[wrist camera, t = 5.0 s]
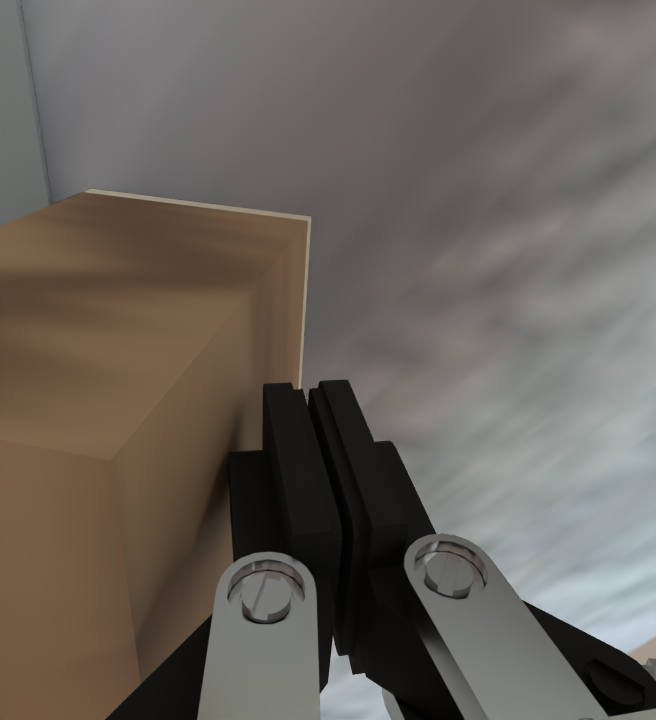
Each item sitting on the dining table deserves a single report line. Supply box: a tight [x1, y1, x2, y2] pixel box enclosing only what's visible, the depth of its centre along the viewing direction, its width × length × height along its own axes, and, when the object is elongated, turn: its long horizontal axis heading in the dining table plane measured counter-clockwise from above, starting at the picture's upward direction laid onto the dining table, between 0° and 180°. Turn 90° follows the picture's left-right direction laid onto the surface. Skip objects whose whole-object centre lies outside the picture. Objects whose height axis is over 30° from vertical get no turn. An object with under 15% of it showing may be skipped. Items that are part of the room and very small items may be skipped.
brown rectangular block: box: [0, 189, 311, 720], centre depth 12 cm, size 6×6×10 cm
